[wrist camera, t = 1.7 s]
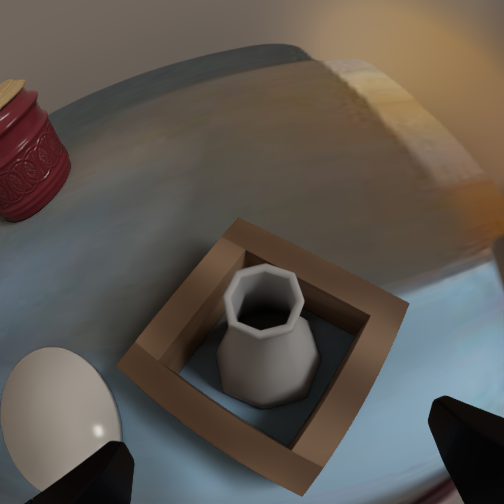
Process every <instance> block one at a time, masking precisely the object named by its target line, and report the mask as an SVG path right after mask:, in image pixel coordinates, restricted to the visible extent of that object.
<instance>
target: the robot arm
mask: <svg viewBox="0 0 504 504" xmlns="http://www.w3.org/2000/svg"><path fill="white" fill-rule="evenodd" d="M428 425H429V427H430V430H431V432H432V435H433V437H434V440H435V442H436V445H437V448H438V450H439V453H440V455H441V458H442V460H443V463H444V465H445V467H446V469H447V471H448V472H449V474H450V476H451V478H452V480H453V482H454V484H455V486H456V488H457V490H458V492H459V494H460V496H461V498H462V500H463V502H464V504H504V418H503V417H500V416H498V415H495V414H492V413H490V412H487V411H484V410H482V409H479V408H477V407H474V406H472V405H469V404H466V403H464V402H461V401H459V400H457V399H454V398H452V397H449V396H442V397H439V398H437V399H435V400H434V401H433V403H432V406H431V410H430V414H429V417H428ZM133 474H134V459H133V457H132V455H131V454H130V452H129V450H128V448H127V446H126V445H125V443H124V442H122V441H109V442H108V443H106V444H105V445H104V446H102V447H101V448H100V449H99V450H97V451H96V452H95V453H93V454H92V455H91V456H90V457H88V458H87V459H86V460H84V461H83V462H82V463H80V464H79V465H78V466H76V467H75V468H74V469H72V470H71V471H70V472H68V473H67V474H66V475H64V476H63V477H62V478H60V479H59V480H57V481H56V482H55V483H53V484H52V485H50V486H49V487H48V488H46V489H45V490H43V491H42V492H41V493H39V494H38V495H36V496H35V497H33V499H30V500H29V501H27V502H26V503H25V504H130V502H131V493H132V483H133Z"/></svg>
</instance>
